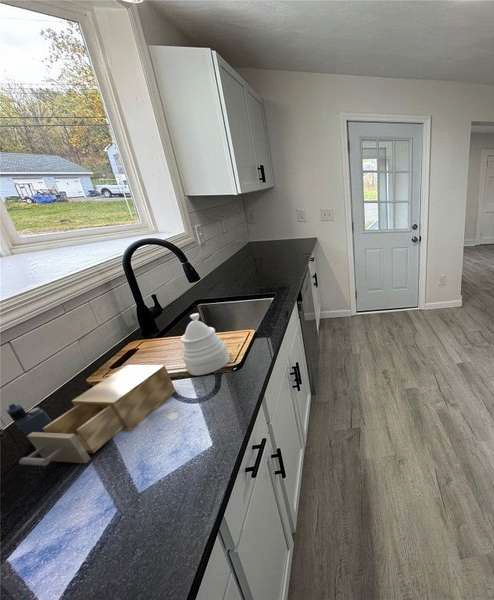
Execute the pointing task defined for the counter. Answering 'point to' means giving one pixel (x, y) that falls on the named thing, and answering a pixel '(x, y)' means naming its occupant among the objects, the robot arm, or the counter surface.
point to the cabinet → (131, 392)
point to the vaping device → (29, 419)
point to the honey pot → (203, 348)
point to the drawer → (74, 435)
